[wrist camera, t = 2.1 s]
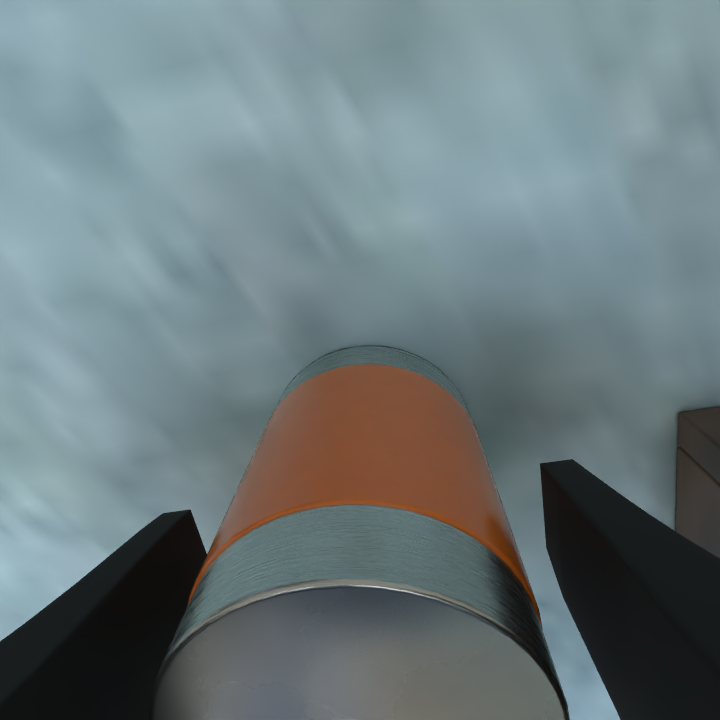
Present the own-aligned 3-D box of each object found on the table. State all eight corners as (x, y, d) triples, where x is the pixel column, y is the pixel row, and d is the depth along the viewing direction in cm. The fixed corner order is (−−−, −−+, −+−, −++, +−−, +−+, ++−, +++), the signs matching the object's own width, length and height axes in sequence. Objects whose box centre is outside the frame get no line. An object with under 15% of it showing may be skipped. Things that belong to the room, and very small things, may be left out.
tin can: (483, 508, 15) (585, 864, 7) (297, 531, 15) (212, 882, 8) (460, 326, 13) (565, 551, 5) (249, 361, 13) (79, 608, 6)
